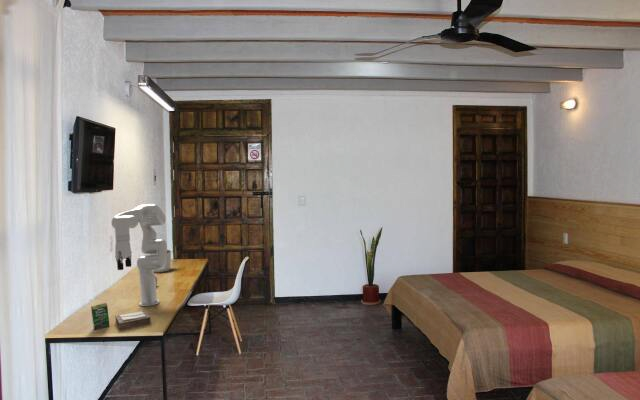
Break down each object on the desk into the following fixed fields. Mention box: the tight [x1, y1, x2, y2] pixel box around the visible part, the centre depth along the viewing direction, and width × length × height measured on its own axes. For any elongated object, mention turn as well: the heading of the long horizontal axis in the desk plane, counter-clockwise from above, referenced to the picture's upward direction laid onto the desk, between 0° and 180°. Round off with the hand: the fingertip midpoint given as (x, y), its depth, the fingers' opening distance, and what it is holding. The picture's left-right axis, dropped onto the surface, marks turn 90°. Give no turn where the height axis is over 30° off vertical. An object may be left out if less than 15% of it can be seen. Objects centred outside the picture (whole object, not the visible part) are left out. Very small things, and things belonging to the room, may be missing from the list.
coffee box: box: [90, 302, 110, 331], centre depth 255 cm, size 8×3×13 cm, turn 126°
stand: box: [114, 310, 152, 331], centre depth 260 cm, size 16×16×5 cm
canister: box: [149, 249, 173, 273], centre depth 399 cm, size 18×18×21 cm
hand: (124, 268), depth 264 cm, fingers open, 9 cm apart
